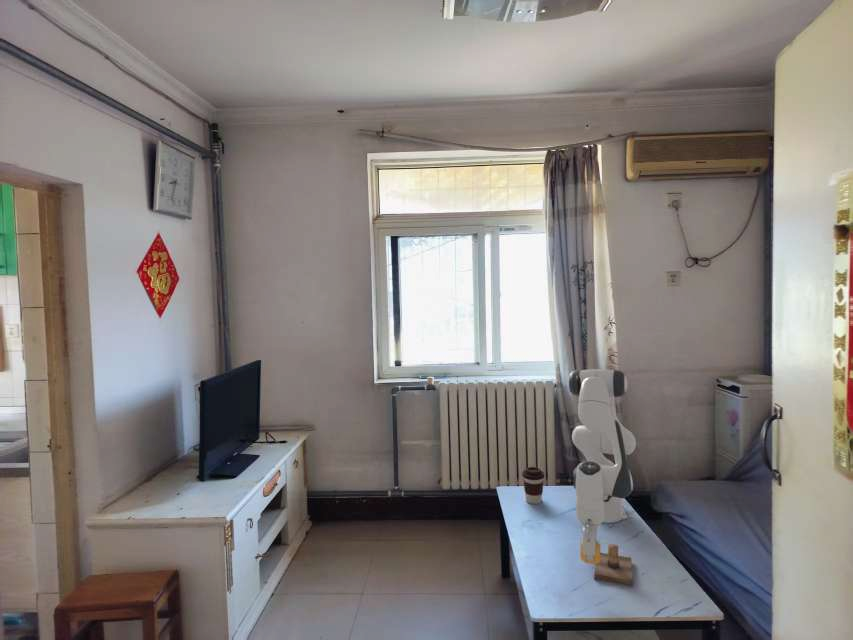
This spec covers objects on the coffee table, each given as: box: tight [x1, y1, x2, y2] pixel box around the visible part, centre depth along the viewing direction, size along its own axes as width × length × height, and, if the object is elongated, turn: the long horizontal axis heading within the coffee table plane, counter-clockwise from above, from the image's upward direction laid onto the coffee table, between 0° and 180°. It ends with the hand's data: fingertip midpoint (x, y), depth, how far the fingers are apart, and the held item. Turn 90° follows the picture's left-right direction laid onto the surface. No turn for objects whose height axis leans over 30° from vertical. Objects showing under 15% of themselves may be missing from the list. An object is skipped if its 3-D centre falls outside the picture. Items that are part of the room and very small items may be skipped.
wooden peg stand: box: [593, 543, 634, 587], centre depth 167 cm, size 14×12×9 cm
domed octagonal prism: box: [580, 539, 601, 565], centre depth 157 cm, size 6×6×5 cm
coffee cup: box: [522, 466, 545, 505], centre depth 222 cm, size 10×10×15 cm
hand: (590, 552), depth 157 cm, fingers closed on domed octagonal prism, 6 cm apart
